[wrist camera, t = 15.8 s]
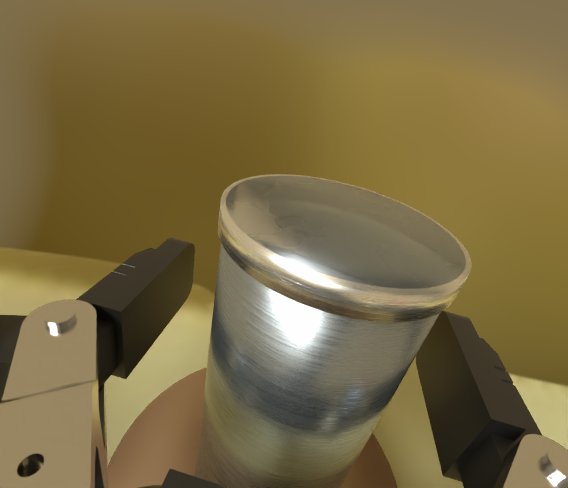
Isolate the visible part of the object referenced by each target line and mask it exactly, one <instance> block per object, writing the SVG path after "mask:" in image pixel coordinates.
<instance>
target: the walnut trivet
mask: <svg viewBox="0 0 568 488" xmlns="http://www.w3.org/2000/svg"><path fill="white" fill-rule="evenodd" d="M206 372H207V368H204V369H202V370H199V371H197V372H195V373H193V374H190V375H188V376H187V377H185V378H183V379H182V380H180V381H178V382H176V383H175V384H173V385H172V386H171V387H169V388H168V389H167V390H165V391H164V392H162V393H161V394H160V395H159V396H158V397H157V398H156V399H155V400H154V401H152V402H151V403H150V404H149V405H148V406H147V407H146V409H145V410H144V411H143V412H142V413H141V414H140V415H139V416H138V417H137V419H136V420H135V421H134V423H133V424H132V425H131V427H130V428H129V430H128V431H127V432H126V434H125V435H124V437H123V438H122V440H121V442H120V444H119V445H118V447H117V449H116V451H115V452H114V454H113V456H112V458H111V460H110V463H109V465H108V467H107V470H108V485H109V488H138V487H143V486H150V485H162V484H163V482H164V480H165V477H166V475H167V473H168V471H169V469H173V470H176V471H180V472H183V473H186V474H189V475H192V476H195V469H196V461H197V452H198V443H199V434H200V425H201V416H202V407H203V398H204V389H205V381H206ZM341 488H397V485H396V481H395V479H394V476H393V473H392V471H391V468H390V466H389V463H388V461H387V459H386V457H385V455H384V453H383V451H382V449H381V447H380V445H379V443H378V441H377V440H376V438H375V437H374V435H373V433H372V434H371V436H370V437H369V439H368V441H367V443H366V444H365V446H364V448H363V450H362V451H361V453H360V455H359V457H358V458H357V460H356V462H355V464H354V466H353V467H352V469H351V471H350V473H349V474H348V476H347V478H346V480H345V481H344V483H343V485H342V487H341Z"/></svg>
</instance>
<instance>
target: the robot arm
mask: <svg viewBox="0 0 568 488" xmlns="http://www.w3.org/2000/svg"><path fill="white" fill-rule="evenodd" d="M194 254H195V247H194V244H192V243H188V242H185V241H181V240H177V239H174V238H169V239H167V240H166V241H165V242H164V243H163V244H162V245H160V246H159V247H158V248H157V249H153V248H149V249H146V250H144V251H141V252H138V253H136V254H134V255H133V256H131V257H130V258H129V259H128V260H126V261H125V262H124V263H123V265H120V266H119V267H117V268H116V269H115V270H114V272H111V273H110V274H108V275H107V276H106V277H105V278H103V279H102V280H101V281H99V282H98V283H97V284H96V285H94V286H93V287H92V288H90V289H89V290H88V291H87V292H85V293H84V294H83V295H82V296H80V297H79V298H78V299H76V300H61V301H56V302H52V303H49V304H46V305H44V306H41V307H39V308H38V309H36V310H34V311H33V312H32V313H30V314H29V315H28V316H17V315H0V488H109V485H108V470H107V445H106V389H105V381H106V380H107V379H108V378H109V377H110V375H114V376H117V377H121V378H124V379H126V378H127V377H128V376H129V374H130V373H131V372H132V370H133V369H134V368H135V366H136V365H137V364H138V363H139V361H140V360H141V359H142V357H143V356H144V355H145V353H146V352H147V351H148V349H149V348H150V347H151V346H152V344H153V343H154V342H155V340H156V339H157V338H158V336H159V335H160V334H161V332H162V331H163V330H164V328H165V327H166V326H167V325H168V323H169V322H170V321H171V319H172V318H173V317H174V315H175V314H176V313H177V311H178V310H179V309H180V308H181V306H182V305H183V304H184V302H185V301H186V299H187V298H188V296H189V294H190V291H191V288H192V283H193V267H194ZM416 365H417V369H418V374H419V378H420V382H421V386H422V390H423V394H424V399H425V403H426V407H427V411H428V415H429V419H430V424H431V428H432V432H433V436H434V440H435V444H436V449H437V453H438V457H439V461H440V465H441V470H442V474H443V476H445V477H448V478H452V479H455V480H458V481H461V482H463V486H464V488H568V450H567V449H566V448H564V447H563V446H561V445H560V444H558V443H557V442H555V441H553V440H551V439H549V438H547V437H544V436H542V434H541V432H540V430H539V428H538V427H537V425H536V423H535V421H534V419H533V418H532V416H531V414H530V412H529V410H528V409H527V407H526V405H525V403H524V401H523V399H522V398H521V396H520V394H519V392H518V390H517V389H516V387H515V386H514V385H513V381H512V379H511V378H510V376H509V374H508V372H505V370H506V369H505V367H504V365H503V363H502V362H501V360H500V358H499V356H498V354H497V353H496V352H495V351H494V350H493V349H492V348H491V347H490V346H489V344H488V343H486V341H485V340H484V339H482V338H479V336H478V334H477V332H476V330H475V328H474V326H473V324H472V322H471V321H470V319H469V318H467V317H464V316H459V315H456V314H452V313H449V312H445V311H442V312H440V314H439V315H438V317H437V319H436V321H435V323H434V324H433V326H432V328H431V330H430V331H429V333H428V335H427V337H426V338H425V340H424V342H423V344H422V346H421V347H420V349H419V351H418V353H417V356H416ZM138 488H224V487H223V486H221V485H219V484H216V483H213V482H210V481H207V480H204V479H201V478H198V477H195V476H192V475H189V474H186V473H183V472H180V471H176V470H173V469H169V471H168V473H167V475H166V477H165V480H164V482H163V484H162V485H150V486H143V487H138Z"/></svg>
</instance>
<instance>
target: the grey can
mask: <svg viewBox="0 0 568 488" xmlns="http://www.w3.org/2000/svg"><path fill="white" fill-rule="evenodd" d="M218 233H219V239H220V241H221V247H220V256H219V265H218V274H217V283H216V292H215V301H214V309H213V318H212V327H211V336H210V345H209V354H208V363H207V372H206V381H205V389H204V398H203V407H202V416H201V425H200V434H199V443H198V452H197V461H196V469H195V477H198V478H201V479H204V480H207V481H210V482H213V483H216V484H219V485H221V486H223V487H224V488H341V487H342V485H343V483H344V481H345V480H346V478H347V476H348V474H349V473H350V471H351V469H352V467H353V466H354V464H355V462H356V460H357V458H358V457H359V455H360V453H361V451H362V450H363V448H364V446H365V444H366V443H367V441H368V439H369V437H370V436H371V434H372V432H373V430H374V428H375V427H376V425H377V423H378V421H379V420H380V418H381V416H382V414H383V413H384V411H385V409H386V407H387V406H388V404H389V402H390V400H391V398H392V397H393V395H394V393H395V391H396V390H397V388H398V386H399V384H400V383H401V381H402V379H403V377H404V376H405V374H406V372H407V370H408V368H409V367H410V365H411V363H412V361H413V360H414V358H415V356H416V354H417V353H418V351H419V349H420V347H421V346H422V344H423V342H424V340H425V338H426V337H427V335H428V333H429V331H430V330H431V328H432V326H433V324H434V323H435V321H436V319H437V317H438V315H439V314H440V312H442V311H443V310H445V309H447V308H448V307H449V306H450V304H451V303H452V302H453V301H454V299H455V298H456V296H457V294H458V292H459V291H460V289H461V287H462V285H463V284H464V282H465V280H466V279H467V277H468V275H469V273H470V270H471V259H470V257H469V254H468V252H467V251H466V249H465V247H464V246H463V245H462V243H461V242H460V241H459V240H458V239H457V238H456V237H455V236H454V235H453V234H452V233H451V232H450V231H448V230H447V229H446V228H444V227H443V226H442V225H441V224H439V223H438V222H436V221H435V220H433V219H432V218H430V217H428V216H427V215H425V214H423V213H421V212H420V211H418V210H416V209H414V208H412V207H410V206H408V205H406V204H404V203H401V202H399V201H397V200H394V199H392V198H390V197H387V196H384V195H382V194H379V193H376V192H373V191H370V190H367V189H364V188H360V187H357V186H353V185H350V184H346V183H342V182H338V181H333V180H328V179H323V178H317V177H310V176H301V175H284V174H283V175H282V174H280V175H279V174H277V175H261V176H254V177H250V178H246V179H242V180H240V181H237V182H235V183H234V184H232V185H230V186H229V187H228V188H227V189H226V190H225V191H224V192H223V195H222V197H221V205H220V214H219V225H218Z"/></svg>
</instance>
